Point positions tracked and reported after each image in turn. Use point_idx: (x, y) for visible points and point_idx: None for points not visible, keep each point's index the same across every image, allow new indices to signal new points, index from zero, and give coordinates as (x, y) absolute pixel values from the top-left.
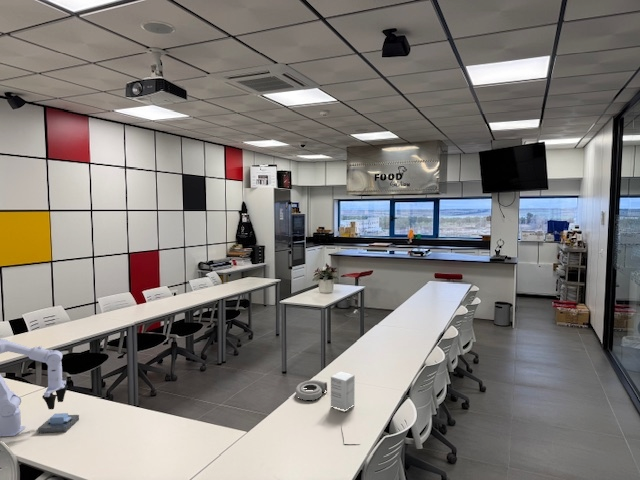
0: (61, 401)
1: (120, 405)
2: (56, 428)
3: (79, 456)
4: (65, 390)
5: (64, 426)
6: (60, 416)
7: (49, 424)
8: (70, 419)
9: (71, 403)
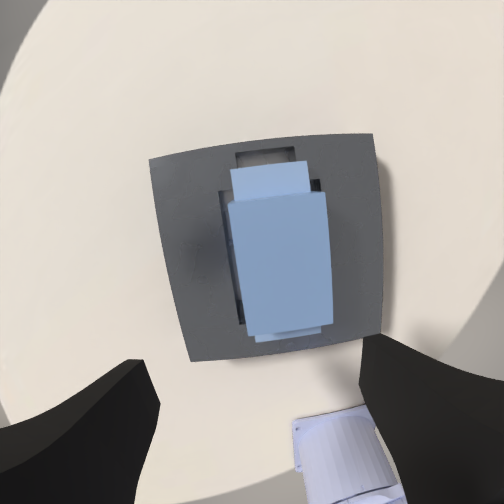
0: (144, 373)
1: (16, 66)
2: (377, 204)
3: (479, 17)
4: (15, 443)
5: (363, 148)
6: (309, 238)
7: (334, 296)
8: None
9: (28, 348)
